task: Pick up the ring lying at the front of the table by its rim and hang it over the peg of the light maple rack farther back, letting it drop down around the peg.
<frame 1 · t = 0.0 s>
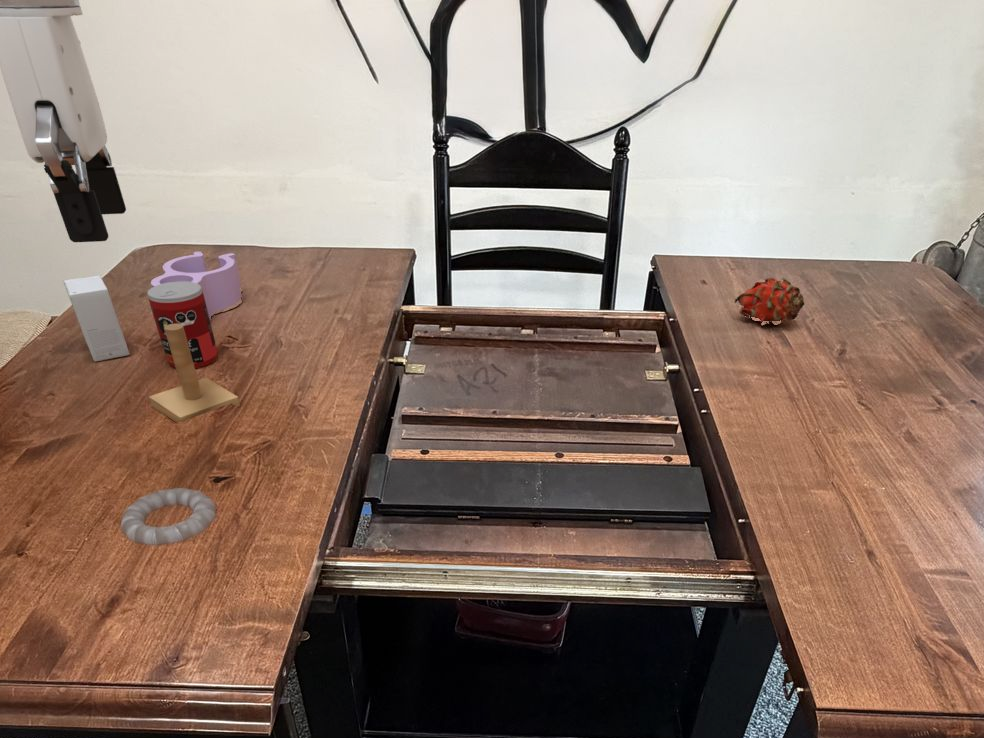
hand: (100, 226, 68), 29 cm above the table, tool pointing down, fingers open, 9 cm apart
ring: (169, 517, 80), point 1 cm above the table
small box: (109, 351, 117), on the table
dragon fruit: (763, 324, 131), on the table
clip: (202, 309, 132), on the table
canned food: (193, 361, 115), on the table
rack: (196, 406, 103), on the table
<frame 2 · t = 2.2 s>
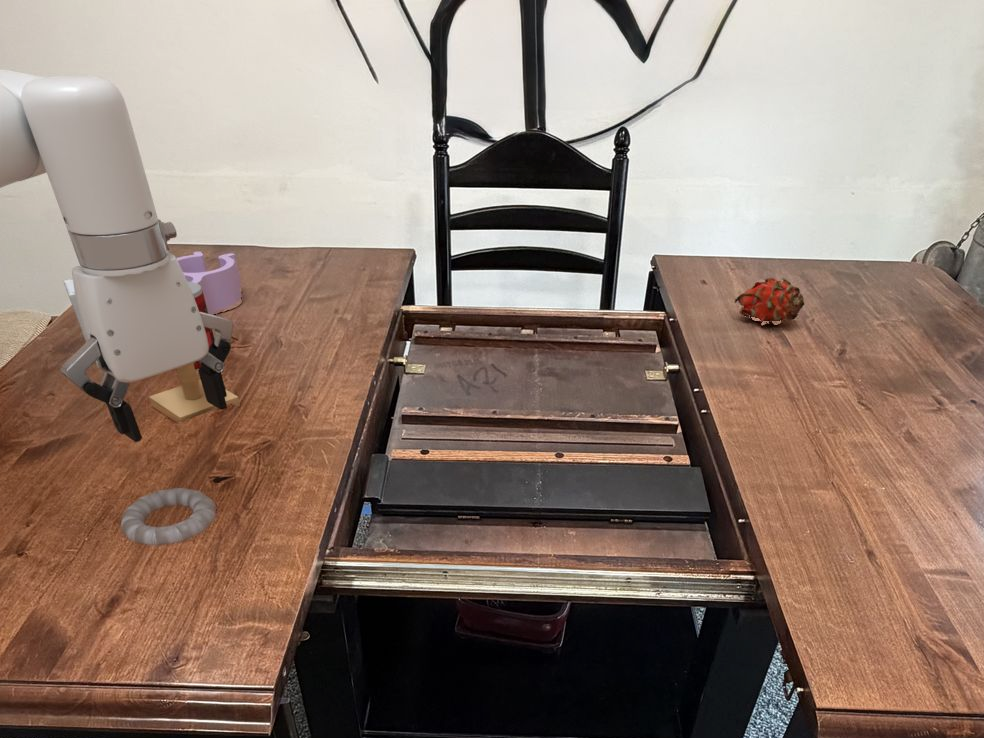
hand: (176, 420, 75), 12 cm above the table, tool pointing down, fingers open, 9 cm apart
nothing on the table moved.
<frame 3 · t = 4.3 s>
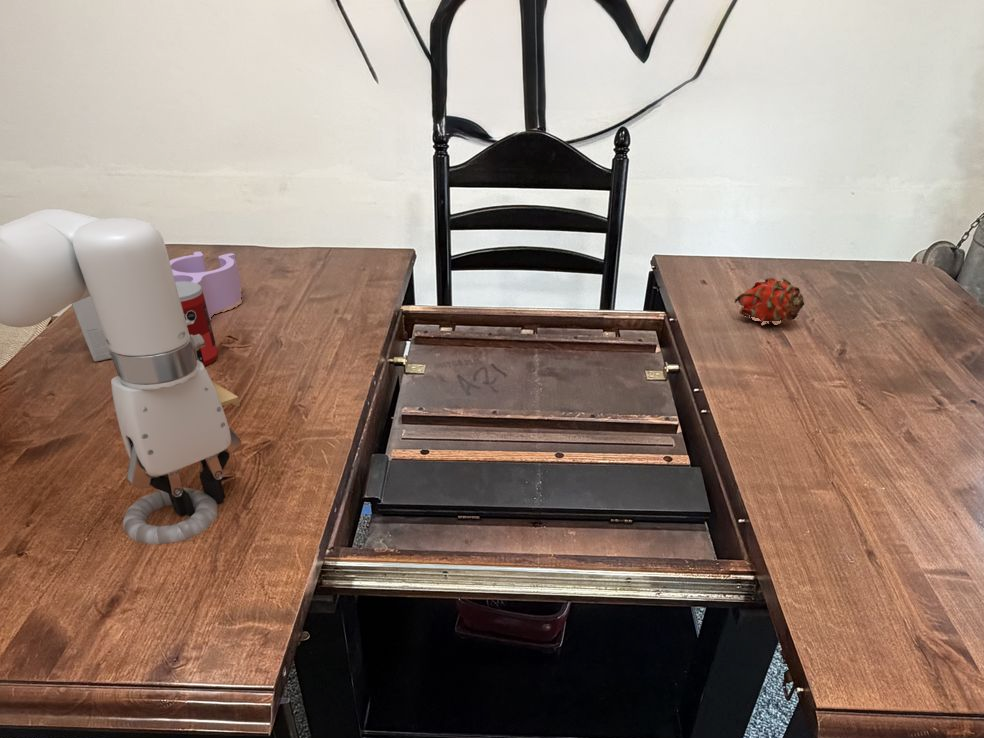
hand: (202, 511, 83), 0 cm above the table, tool pointing down, fingers closed on ring, 3 cm apart
ring: (171, 516, 80), point 1 cm above the table, touching gripper
everything else where it was.
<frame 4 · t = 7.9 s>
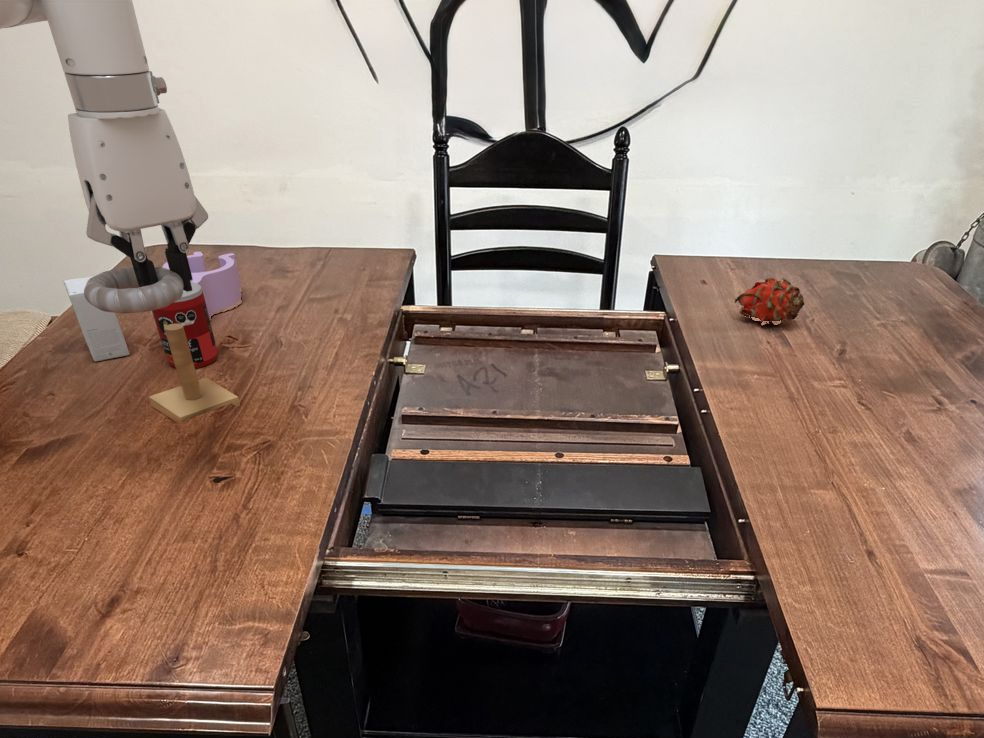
hand: (168, 290, 81), 20 cm above the table, tool pointing down, fingers closed on ring, 3 cm apart
ring: (135, 288, 78), point 21 cm above the table, touching gripper
everything else where it was.
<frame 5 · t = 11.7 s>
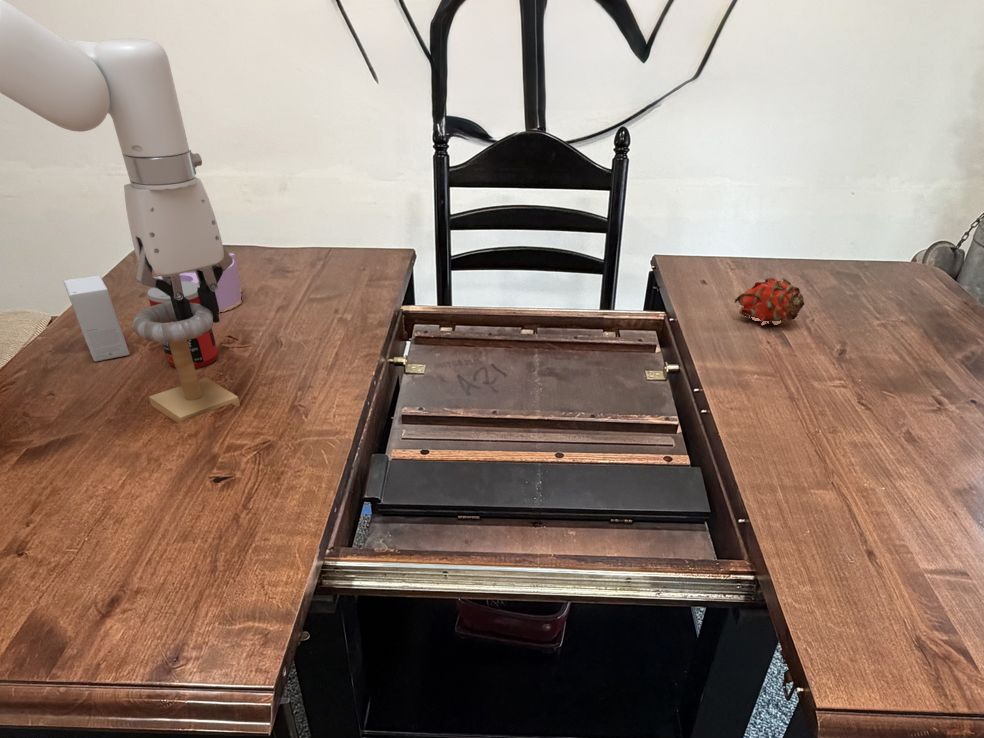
hand: (199, 322, 97), 11 cm above the table, tool pointing down, fingers closed on ring, 3 cm apart
ring: (173, 321, 95), point 12 cm above the table, touching gripper
everything else where it was.
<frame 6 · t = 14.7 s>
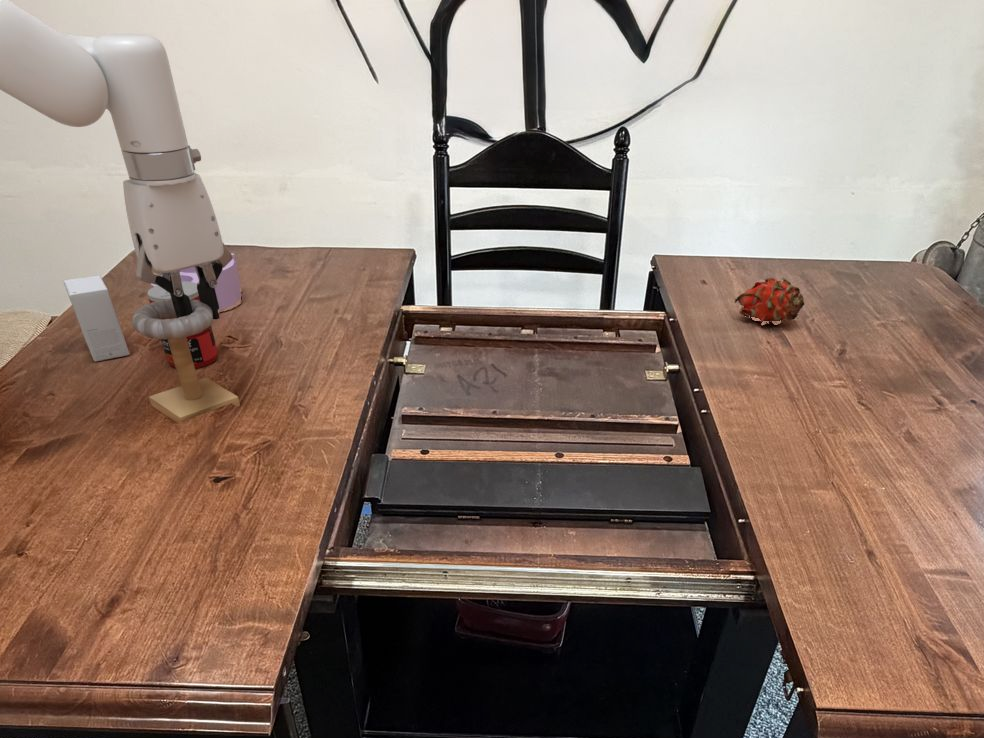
hand: (199, 318, 97), 12 cm above the table, tool pointing down, fingers closed on ring, 2 cm apart
ring: (173, 318, 95), point 13 cm above the table, touching gripper
everything else where it was.
when the fingers open (13 cm above the table, at t = 17.4 s): ring drops 11 cm, resting on rack.
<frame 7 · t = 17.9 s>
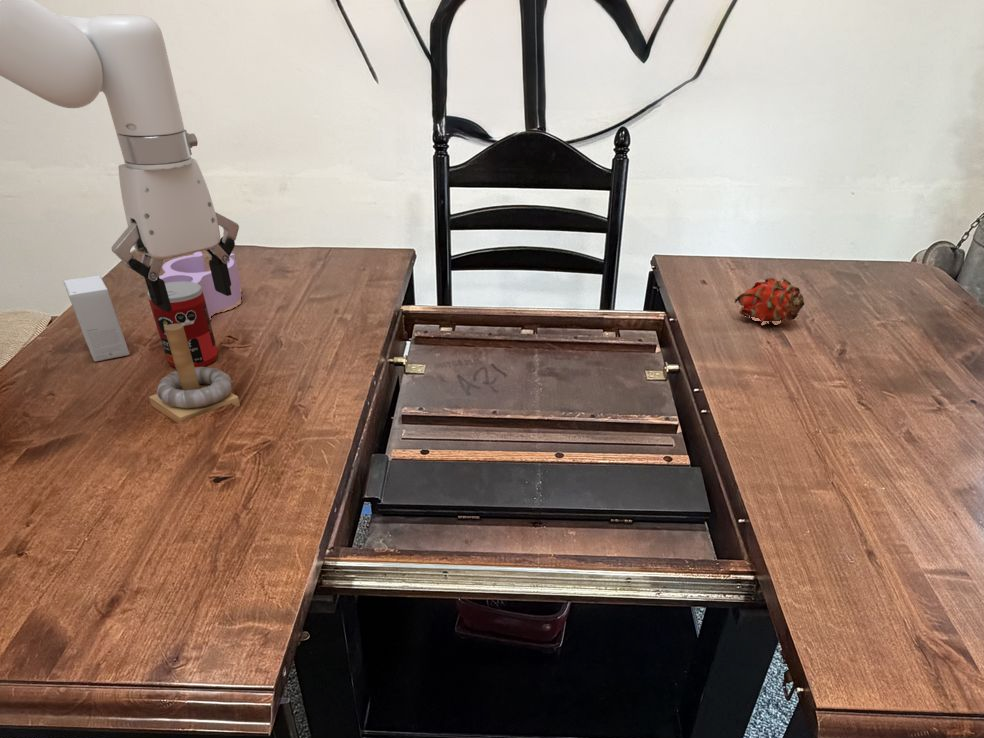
hand: (194, 300, 95), 14 cm above the table, tool pointing down, fingers open, 8 cm apart
ring: (195, 387, 101), point 3 cm above the table, touching rack
everything else where it was.
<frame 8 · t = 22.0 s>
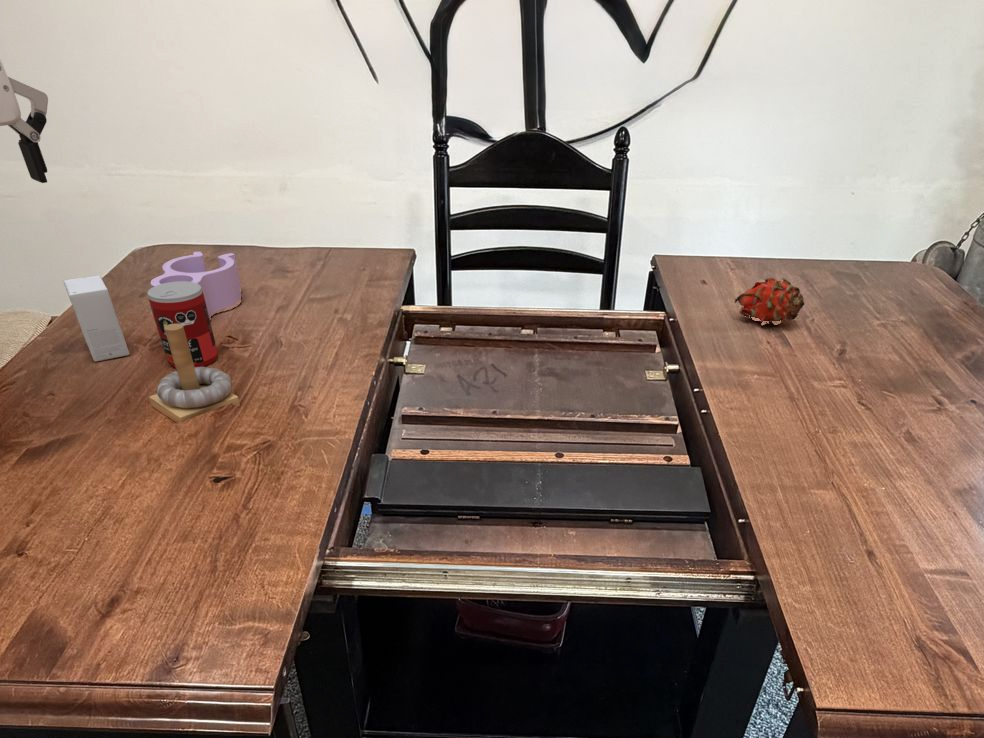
nothing on the table moved.
at the end: ring 0.6 cm from the rack (horizontally); ring point 2.7 cm above the table; the gripper is holding nothing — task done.
